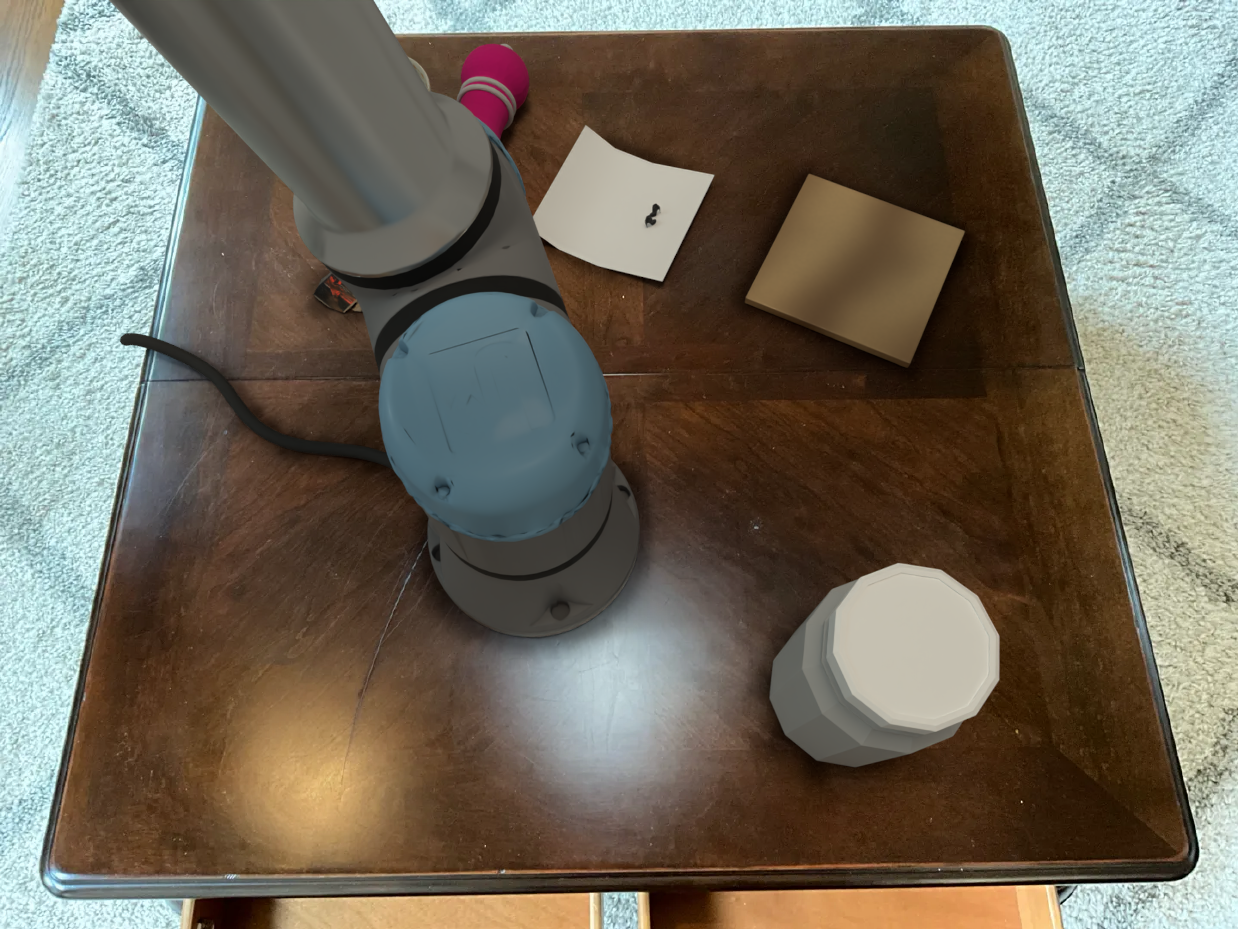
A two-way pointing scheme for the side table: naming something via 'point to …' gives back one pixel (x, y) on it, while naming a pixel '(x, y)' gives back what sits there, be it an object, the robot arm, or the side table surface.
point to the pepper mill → (494, 85)
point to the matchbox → (335, 294)
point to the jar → (885, 667)
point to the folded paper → (619, 208)
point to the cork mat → (856, 269)
